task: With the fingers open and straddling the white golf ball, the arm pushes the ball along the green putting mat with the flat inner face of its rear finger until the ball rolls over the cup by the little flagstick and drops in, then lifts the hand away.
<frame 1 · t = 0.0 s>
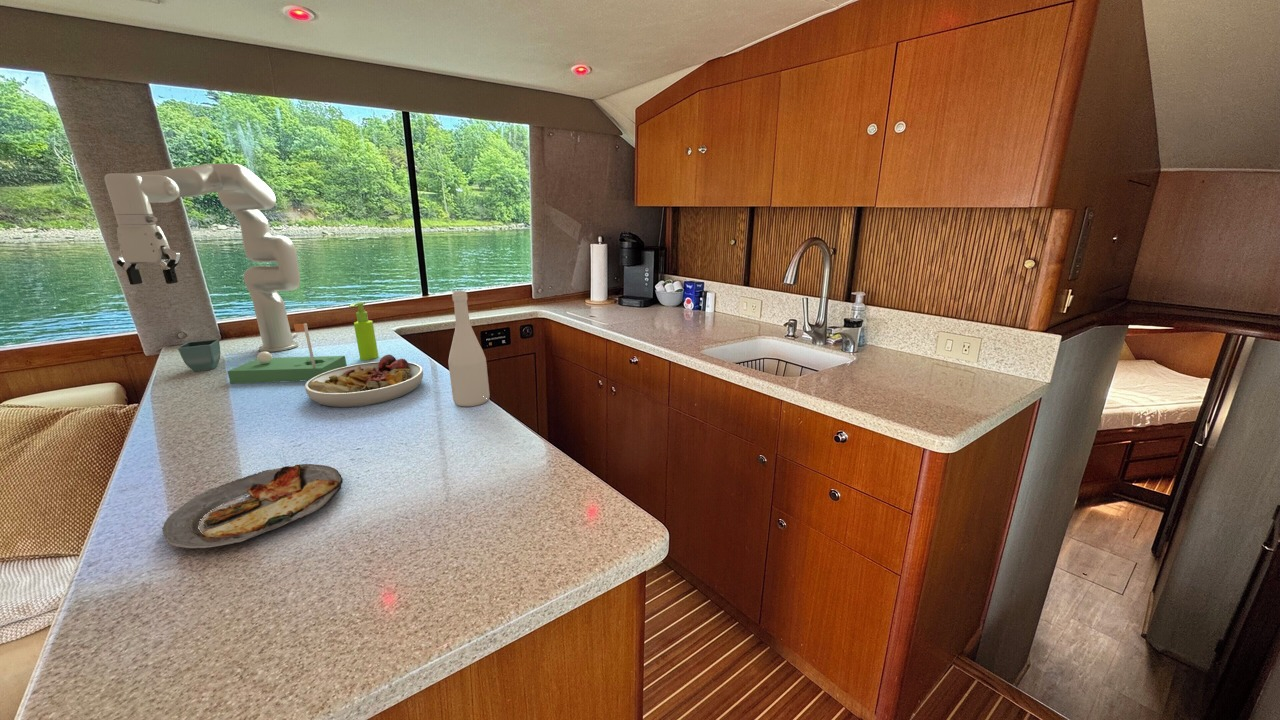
hand: (154, 283, 141), 31 cm above the worktop, tool pointing down, fingers open, 9 cm apart
food plate: (263, 510, 87), on the worktop
flower pot: (206, 369, 168), on the worktop
putting mat: (291, 374, 160), on the worktop
bowl: (369, 392, 145), on the worktop
soap dispenser: (368, 358, 178), on the worktop
wine bottle: (472, 401, 135), on the worktop
ball: (264, 357, 158), point 6 cm above the worktop, touching putting mat
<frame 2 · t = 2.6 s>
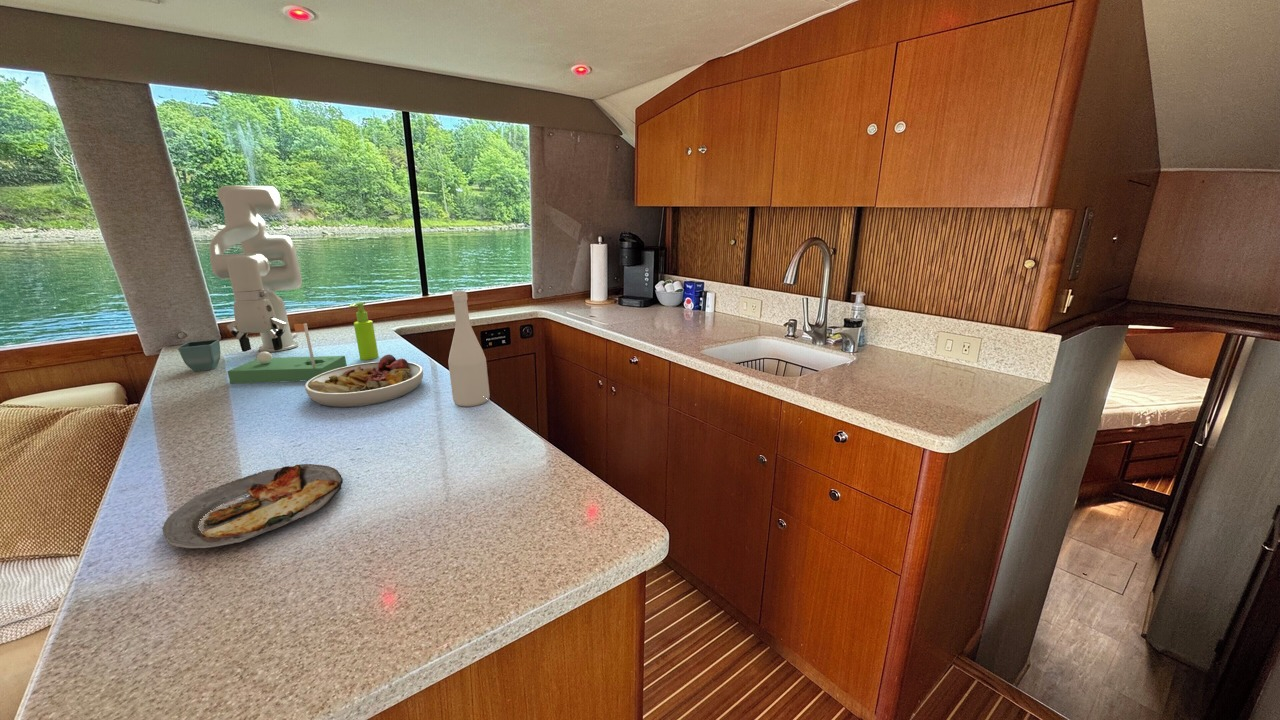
hand: (262, 350, 157), 9 cm above the worktop, tool pointing down, fingers open, 9 cm apart
nothing on the worktop moved.
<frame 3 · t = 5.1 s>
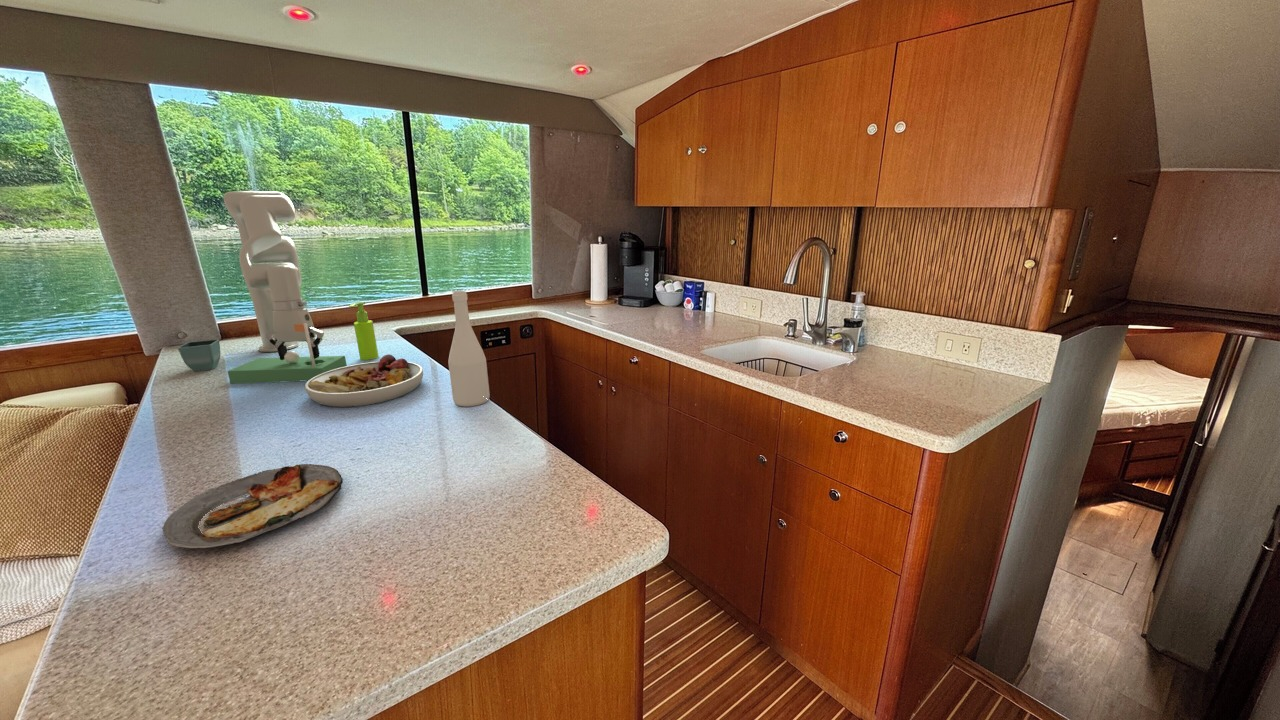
hand: (300, 358, 159), 5 cm above the worktop, tool pointing down, fingers open, 9 cm apart
ball: (291, 357, 158), point 6 cm above the worktop, tilted 119°, touching putting mat
everything else where it was.
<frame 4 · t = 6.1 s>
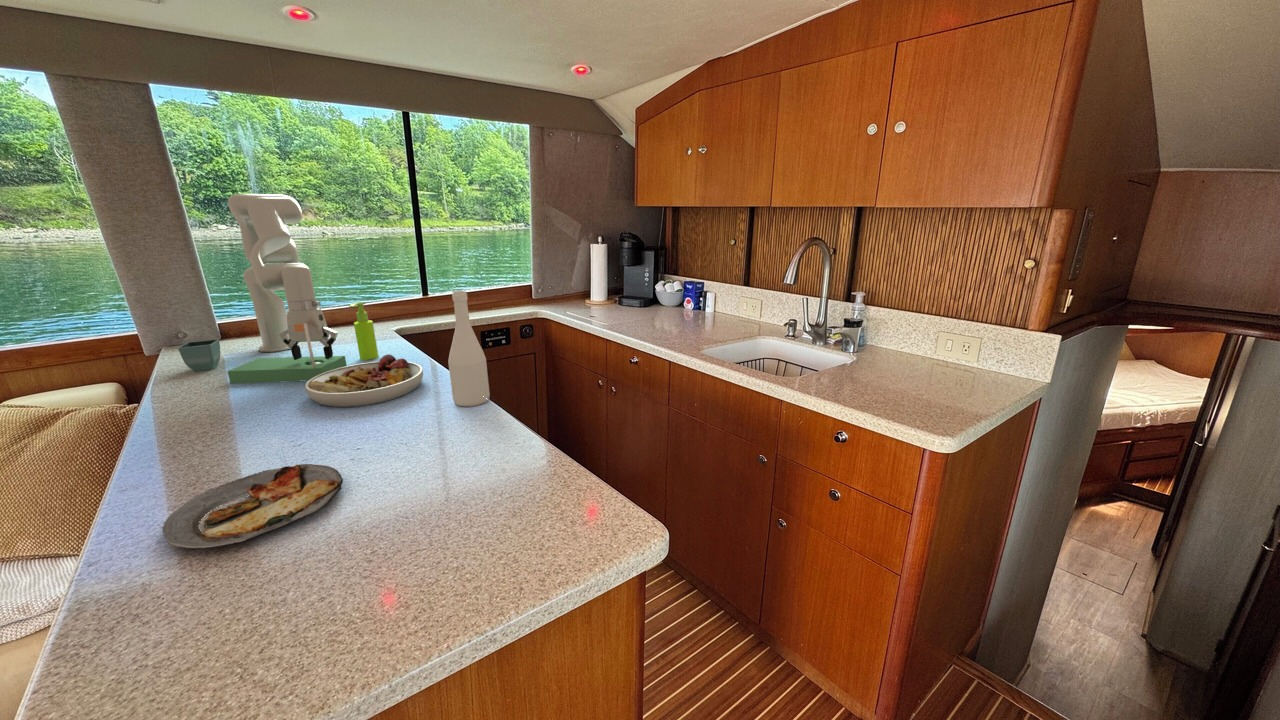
hand: (313, 358, 159), 5 cm above the worktop, tool pointing down, fingers open, 9 cm apart
ball: (317, 368, 160), point 2 cm above the worktop, tilted 129°
everything else where it was.
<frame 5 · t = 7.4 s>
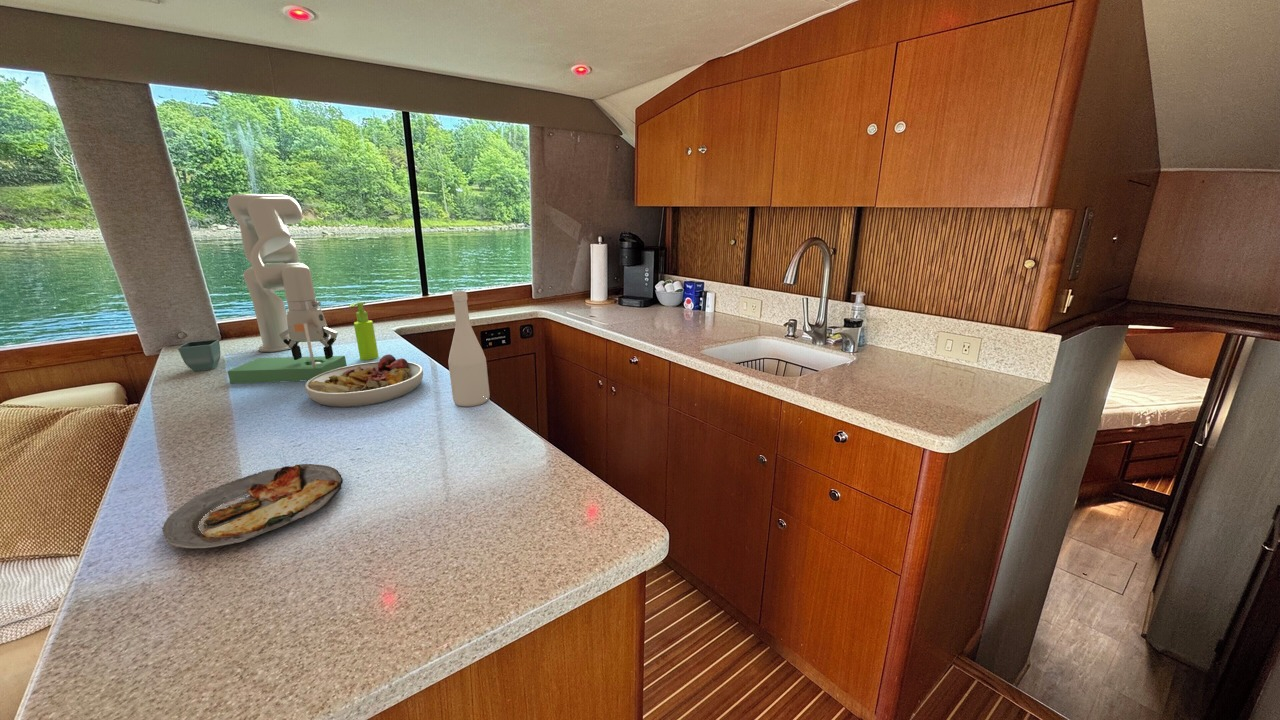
hand: (313, 358, 159), 5 cm above the worktop, tool pointing down, fingers open, 9 cm apart
nothing on the worktop moved.
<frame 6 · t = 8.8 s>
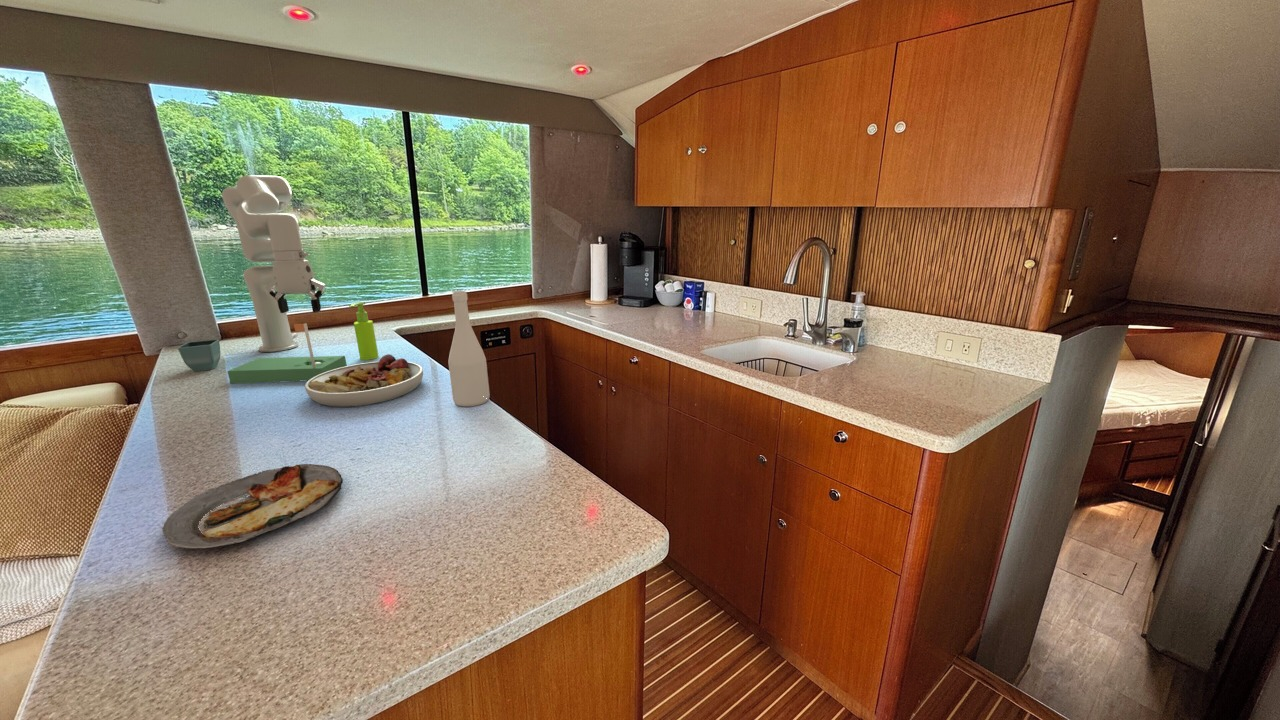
hand: (300, 311, 155), 20 cm above the worktop, tool pointing down, fingers open, 9 cm apart
nothing on the worktop moved.
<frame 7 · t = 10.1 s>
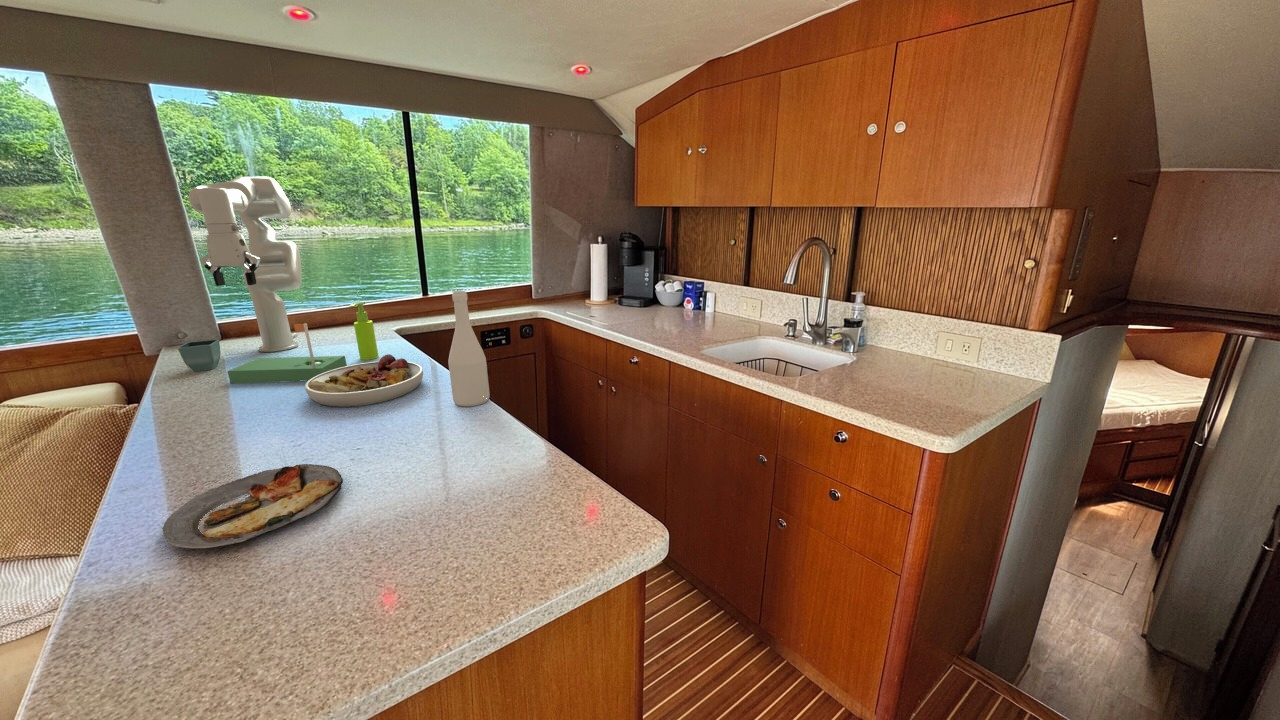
hand: (236, 285, 159), 28 cm above the worktop, tool pointing down, fingers open, 9 cm apart
nothing on the worktop moved.
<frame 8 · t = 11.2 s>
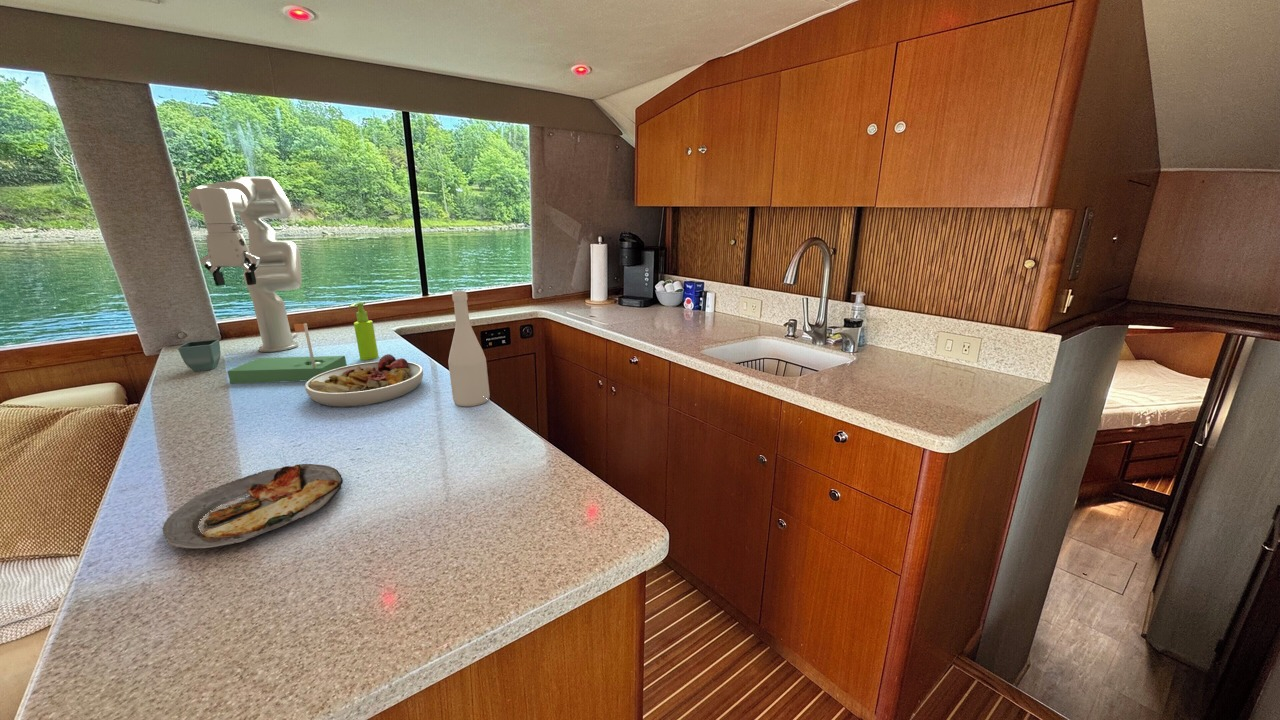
hand: (236, 284, 159), 28 cm above the worktop, tool pointing down, fingers open, 9 cm apart
nothing on the worktop moved.
at the end: ball 0.4 cm from the target spot on the putting mat, point 2.0 cm above the putting mat's base; ball point 2.0 cm above the worktop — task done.
